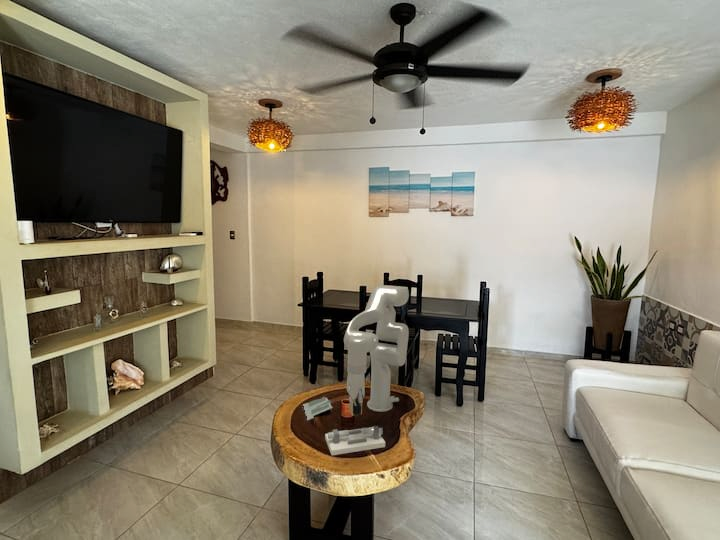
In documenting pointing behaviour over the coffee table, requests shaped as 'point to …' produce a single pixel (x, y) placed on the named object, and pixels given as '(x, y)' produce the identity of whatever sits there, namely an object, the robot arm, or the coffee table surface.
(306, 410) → the metal bracket
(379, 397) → the robot arm
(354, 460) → the coffee table surface
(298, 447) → the coffee table surface
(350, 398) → the coupler
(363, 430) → the left shaft
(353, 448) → the shaft mount
